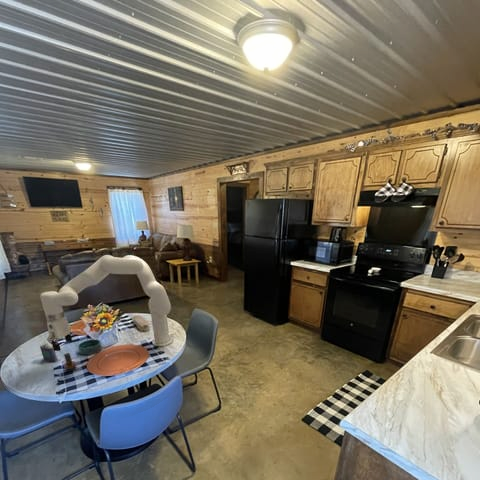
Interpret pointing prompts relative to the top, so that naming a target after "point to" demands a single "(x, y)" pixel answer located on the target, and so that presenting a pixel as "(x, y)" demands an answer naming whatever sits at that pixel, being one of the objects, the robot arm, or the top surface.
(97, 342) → the bowl
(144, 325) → the shoe brush
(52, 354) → the flask
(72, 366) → the brush
